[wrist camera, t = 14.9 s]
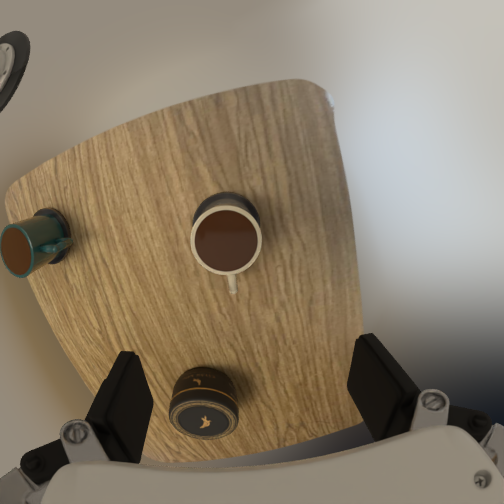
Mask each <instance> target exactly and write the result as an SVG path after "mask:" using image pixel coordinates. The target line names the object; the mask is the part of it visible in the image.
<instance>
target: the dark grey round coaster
mask: <svg viewBox="0 0 504 504" xmlns="http://www.w3.org/2000/svg"><path fill="white" fill-rule="evenodd" d="M219 199H234V200H237V201H239V202H241V203H242V204H244V205H245V206H246V207H247V208H248V209H249V210H250V212H251V214H252V215H253V217H254V218H255V220H256V222H257V223H258V225H259V228H260V219H259V215H258V213H257V210H256V209H255V207H254V206H253V205H252V203H251V202H250V201H249V200H248V199H246V198H245V197H243V196H241V195H239V194H236V193H232V192H222V193H217V194H214V195H212V196H210V197H208V198H207V199H206V200H204V201H203V202H202V203H201V204H200V206H199V207H198V208H197V210H196V212H195V215H194V218H193V226H194V224H195V222H196V221H197V219H198V218H199V216H200V215H201V213H202V212H203V210H204V209H205V208H206V207H207V206H208V205H209V204H210V203H212V202H214V201H216V200H219Z"/></svg>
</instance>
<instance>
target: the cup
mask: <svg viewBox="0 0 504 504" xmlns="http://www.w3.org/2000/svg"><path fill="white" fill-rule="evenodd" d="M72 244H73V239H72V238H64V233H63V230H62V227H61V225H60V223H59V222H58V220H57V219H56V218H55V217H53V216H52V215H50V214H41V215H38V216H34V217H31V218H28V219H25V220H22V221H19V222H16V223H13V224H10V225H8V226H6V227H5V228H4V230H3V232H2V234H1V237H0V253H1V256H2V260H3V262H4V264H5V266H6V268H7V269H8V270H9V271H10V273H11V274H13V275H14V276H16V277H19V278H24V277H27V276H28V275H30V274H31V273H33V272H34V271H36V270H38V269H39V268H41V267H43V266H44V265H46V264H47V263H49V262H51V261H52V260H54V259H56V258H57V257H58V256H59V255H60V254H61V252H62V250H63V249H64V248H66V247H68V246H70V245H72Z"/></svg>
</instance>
